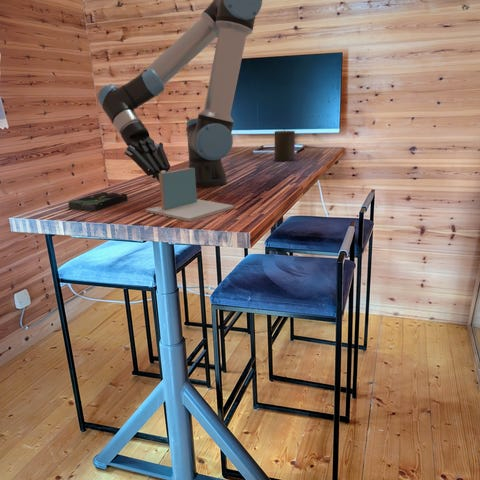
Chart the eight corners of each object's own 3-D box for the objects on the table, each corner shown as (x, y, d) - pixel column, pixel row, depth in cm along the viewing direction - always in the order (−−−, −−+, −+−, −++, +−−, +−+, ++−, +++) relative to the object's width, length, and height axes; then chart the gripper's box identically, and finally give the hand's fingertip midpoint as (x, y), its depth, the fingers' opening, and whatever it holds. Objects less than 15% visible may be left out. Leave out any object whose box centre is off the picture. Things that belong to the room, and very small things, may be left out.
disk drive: (102, 200, 144) (68, 210, 131) (101, 192, 143) (67, 201, 130) (128, 202, 140) (95, 213, 127) (127, 193, 139) (94, 203, 126)
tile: (193, 201, 132) (190, 167, 129) (197, 201, 131) (194, 167, 128) (161, 209, 123) (158, 173, 120) (165, 210, 122) (162, 174, 119)
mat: (190, 200, 137) (189, 197, 136) (233, 208, 125) (233, 205, 125) (145, 211, 124) (145, 209, 124) (189, 221, 113) (189, 218, 113)
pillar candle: (284, 162, 208) (284, 129, 204) (270, 160, 216) (270, 128, 211) (298, 160, 214) (299, 128, 210) (284, 158, 221) (284, 127, 217)
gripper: (145, 136, 139) (184, 194, 134) (108, 140, 130) (149, 203, 125) (154, 119, 134) (195, 179, 129) (117, 121, 125) (159, 186, 120)
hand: (172, 190), depth 127 cm, fingers closed
